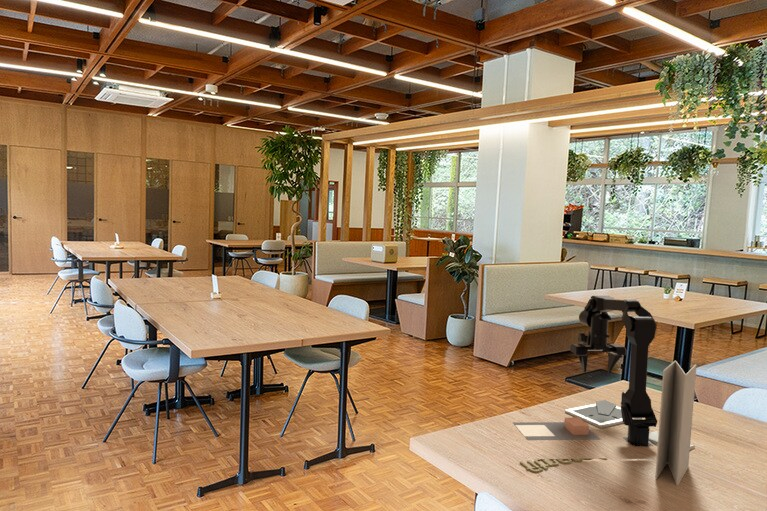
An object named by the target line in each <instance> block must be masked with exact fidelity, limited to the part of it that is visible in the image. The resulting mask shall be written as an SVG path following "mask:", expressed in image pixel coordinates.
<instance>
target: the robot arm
mask: <svg viewBox="0 0 767 511" xmlns="http://www.w3.org/2000/svg"><path fill="white" fill-rule="evenodd" d="M583 308H584V309H583V310H582V311H581V312H580V313H579V315H578V319H579V322H580V323H581V325H582V324H583V325H585V326H587V327H589V328H590V331H588V334H587V335H586V334H585V333H582V332H581V333H580V332H579V333H578V336H577V342H578V343H571V345H570V346H569V351H570V352H571V353H573V354H574V355H575V356H577V358H578V360H579V363H580V366H581V369H582V372H583V373H584V374H586V373H587V369H588V368H587V367H588V366H587V365H588V360H589V359H588V358H589V356H588V355H587V354H588V353H607V358H608V360H607V366H606V367H607V370H606V371H607V373H608V374H611V372H612V370H613V368H614V367H615V366H616V364H617V362H619V360H620V359H621V358H623V357H624V356H626V355H627V349H626V347H625V346H623V345H621V344H618V343H609V344H608V338H610V334H609V332H608V331H609V321H612V317H611V316H610V315H609V313H610V312H614V311H618V312H622V316H621V322H622V324H623V326H624V328H625V334H626V337H627V339H628V340H629V342H630V360H629V361H630V362H629V379H628V389H627V390H626V391H622V392H621V401H620V408H621V413H622V421H623V422H624V423H623V425H624V426H627V427H628V428H627V437H626V436H625V437H623V440H625V441H626V442H627V443H629V444H630V445H631V446H632V447H653V446H654V445H653V443H651V442H650V441H649V433H650V428H651V427H652V428H656V427H657V424H658V419H657V417H656V415H655V413H654V410H653V407H652V399H651V398H650V396H649V394H648V393H647V380H648V379H647V378H648V363H649V362H648V361H649V360H648V359H649V347H650V345H651V343H653V341H654V340H655V338H656V332H657V322H656V321H655V319H654V317H653V315H652V314H651V312H650V311H648V310H647V309H646V308H644V307H643V306H642V305H641V303H640V301H639V300H637V299H615V298H614V297H613V296H610V295H591V296H590V298H589V300H588V301H587V303H586V305H585V306H584V307H583ZM608 312H609V313H608ZM629 313H634V314H635V315H637V316H629ZM633 418H642V419H636V420H633Z"/></svg>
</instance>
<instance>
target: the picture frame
mask: <svg viewBox="0 0 767 511" xmlns="http://www.w3.org/2000/svg"><path fill="white" fill-rule="evenodd" d="M564 413H565V414H568V415H570V416H572V417H573V418H580V419H581V420H583V421H584V422H585V423H587V424H590V425H593V426H595V427H597V428H599V429H604V428H608V427H613V426H616V425H621V424H624V422H623V421H622V413H621V406H617V404H616V403H614V402H611V401H609V400H607V399H603V400H598V401H595V403H592V404H588V405H582V406H577V407H571V408H568V409H567V408H566V409H564ZM636 419H643V418H633V420H636Z"/></svg>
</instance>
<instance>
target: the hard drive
mask: <svg viewBox="0 0 767 511" xmlns="http://www.w3.org/2000/svg"><path fill="white" fill-rule="evenodd" d="M658 435H659V431H657V430H654V431H651V432H649V443H650V444H654V445H656V446H658ZM693 449H695V445H694V444H691V443H690V451H691V450H693Z"/></svg>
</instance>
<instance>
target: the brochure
mask: <svg viewBox="0 0 767 511" xmlns="http://www.w3.org/2000/svg"><path fill="white" fill-rule="evenodd" d="M696 375H697V364H696V363H695V364H693V366H692V367H691V368H690V369H689V371H688V372H686V373H685V371H684V369H683V368H682V367H681V365H680V364H679V363H678V361H677V360H674V361H673V362H671V363H670V364H669V365H668V366H666V368H664V369H663V370H662V383H661V398H660V407H659V408H660V409H659V410H660V411H659V424H658V432H659V435H658V445H657V451H656V452H657V453H656V463H655V464H656V465H655V476H654V478H655V480H657V479H658V477H659V476H660V474H661V473H662V471H663V470H664V468H665V467H666V465H667V464H668V466H669V470H670V471H671V474H672V478H673V480H674V482H675V485H676V486H679V485H680V482H681V480H682V479H683V477H684V475H685V474H686V472H687V470H688V469H689V464H690V453H691V452H690V451H691V450H690V444H691V442H692V441H691V438H692V427H693V412H694V402H695V401H694V400H695V388H696Z"/></svg>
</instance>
